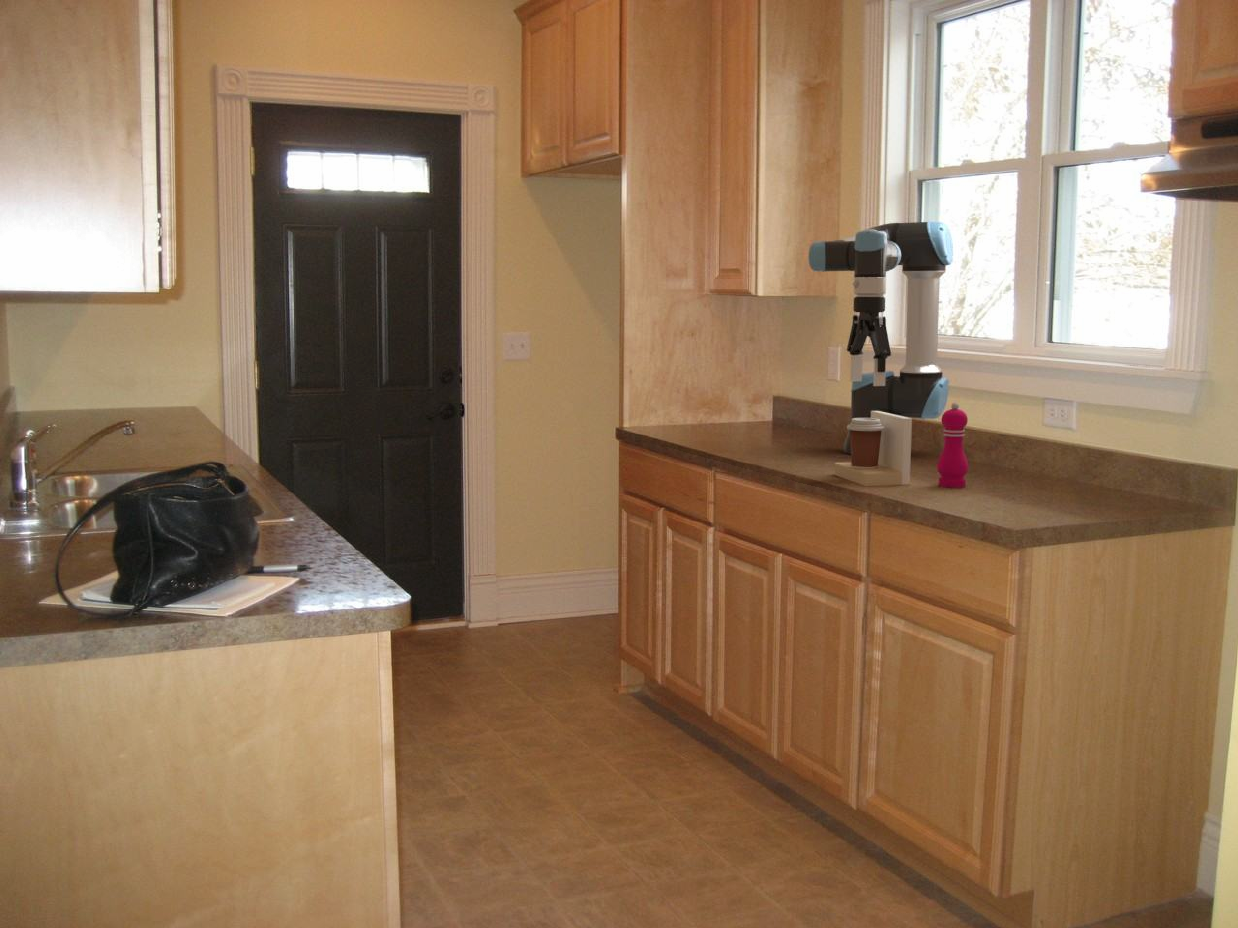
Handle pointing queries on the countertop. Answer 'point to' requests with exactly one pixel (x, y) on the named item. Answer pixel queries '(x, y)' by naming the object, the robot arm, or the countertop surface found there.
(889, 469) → the board
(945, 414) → the pepper mill
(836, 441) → the countertop surface
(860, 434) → the coffee cup
